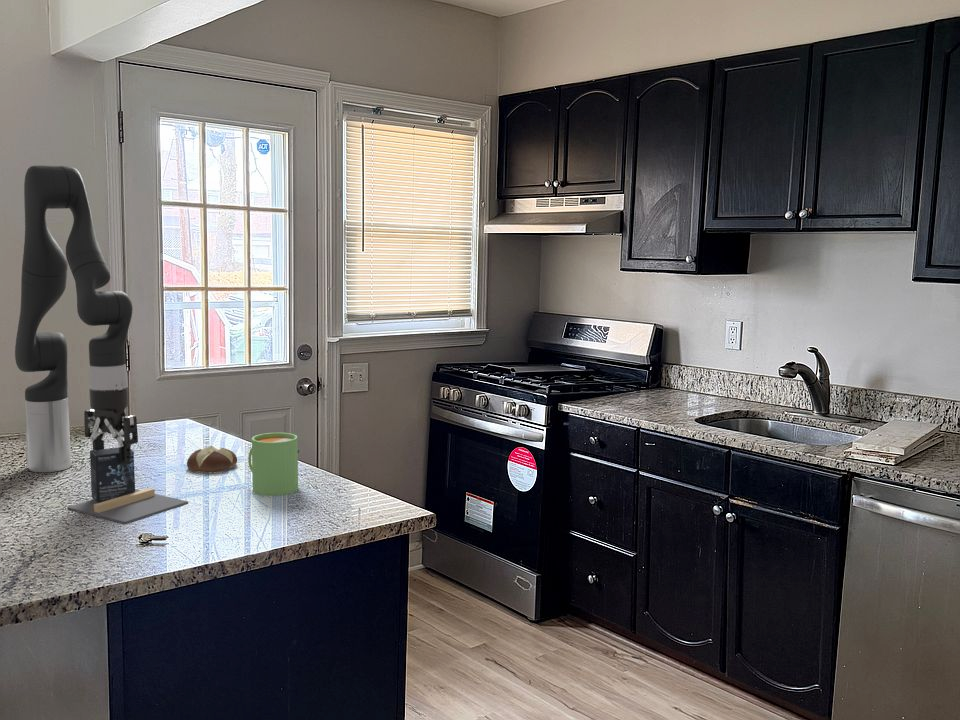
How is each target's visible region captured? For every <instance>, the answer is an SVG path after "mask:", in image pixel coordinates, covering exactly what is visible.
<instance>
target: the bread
mask: <svg viewBox="0 0 960 720" xmlns="http://www.w3.org/2000/svg"><path fill="white" fill-rule="evenodd" d="M187 458H188V459H187V461H186V467H187V468H188V470H189V471H191V472H195V473H206V472H207V473H208V472H209V473H210V472H212V473H213V474H214V472H216V473H219V472H220V473H221V472H223V471H227V470H229V469H231V468H233V467H235V466H236V465H237V463H238V458H237V455H236V453H235V452H233V451H232V450H230V449H227V448H224V447H221V448H219V449H218V448H215V447H214V446H213V445H210V446H207V447H204V448H203V449H202V448H199V449H196V450H195V451H193V452H192V453H191V454H190V455H189V457H187ZM212 473H211V474H212Z"/></svg>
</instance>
